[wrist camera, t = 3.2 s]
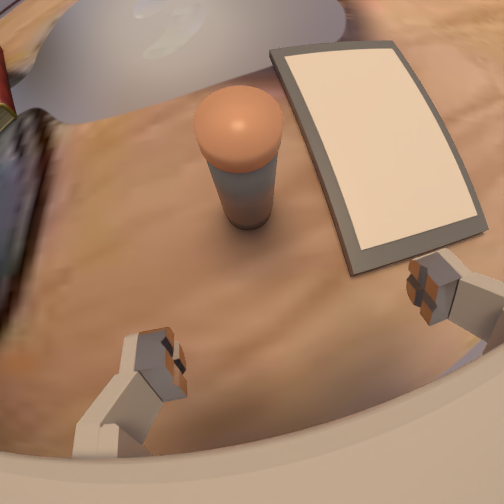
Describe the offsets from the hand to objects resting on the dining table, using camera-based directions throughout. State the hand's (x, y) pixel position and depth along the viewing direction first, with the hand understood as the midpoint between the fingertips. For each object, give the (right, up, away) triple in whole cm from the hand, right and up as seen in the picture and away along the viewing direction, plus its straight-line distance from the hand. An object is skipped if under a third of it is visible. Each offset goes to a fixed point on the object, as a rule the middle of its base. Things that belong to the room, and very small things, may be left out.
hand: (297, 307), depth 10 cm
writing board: (+10, +12, +16) cm, 22 cm away
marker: (-2, +5, +14) cm, 15 cm away
